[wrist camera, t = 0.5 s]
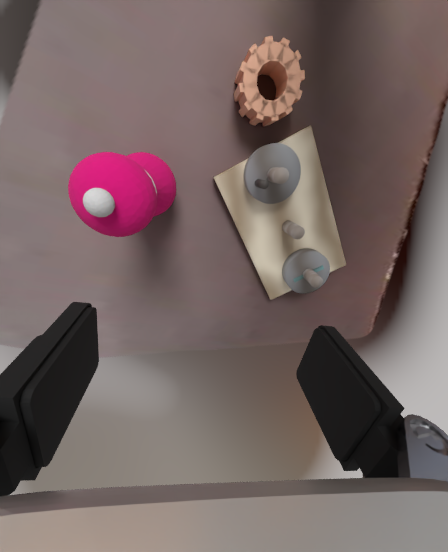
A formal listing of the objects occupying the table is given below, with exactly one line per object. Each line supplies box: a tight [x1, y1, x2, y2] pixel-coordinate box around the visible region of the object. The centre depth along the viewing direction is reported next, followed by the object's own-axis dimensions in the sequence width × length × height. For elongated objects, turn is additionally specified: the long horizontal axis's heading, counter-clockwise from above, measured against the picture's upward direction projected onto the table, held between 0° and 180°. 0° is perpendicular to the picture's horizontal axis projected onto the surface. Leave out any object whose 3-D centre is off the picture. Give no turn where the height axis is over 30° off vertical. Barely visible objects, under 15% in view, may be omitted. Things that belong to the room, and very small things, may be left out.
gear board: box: [213, 126, 346, 300], centre depth 33 cm, size 14×23×6 cm, turn 26°
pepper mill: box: [68, 152, 176, 237], centre depth 23 cm, size 7×7×20 cm
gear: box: [234, 36, 305, 127], centre depth 27 cm, size 7×7×4 cm
